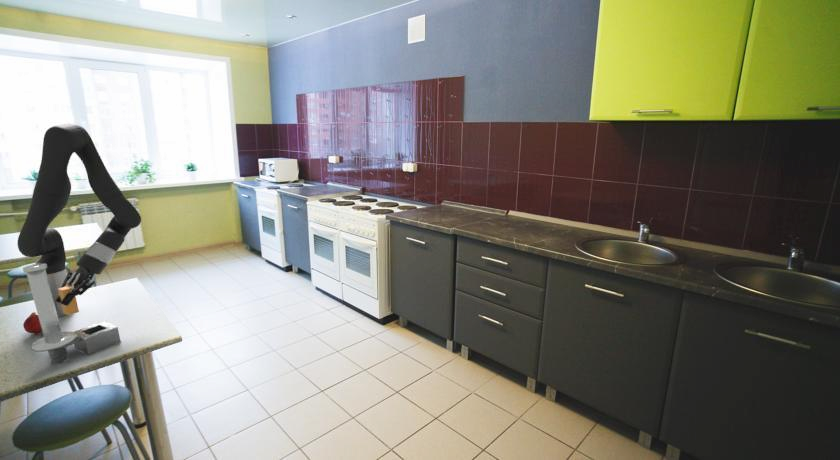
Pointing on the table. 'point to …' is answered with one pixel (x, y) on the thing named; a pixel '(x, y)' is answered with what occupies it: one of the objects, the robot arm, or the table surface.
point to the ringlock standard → (54, 338)
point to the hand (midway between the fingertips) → (61, 303)
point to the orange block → (72, 305)
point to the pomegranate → (32, 324)
